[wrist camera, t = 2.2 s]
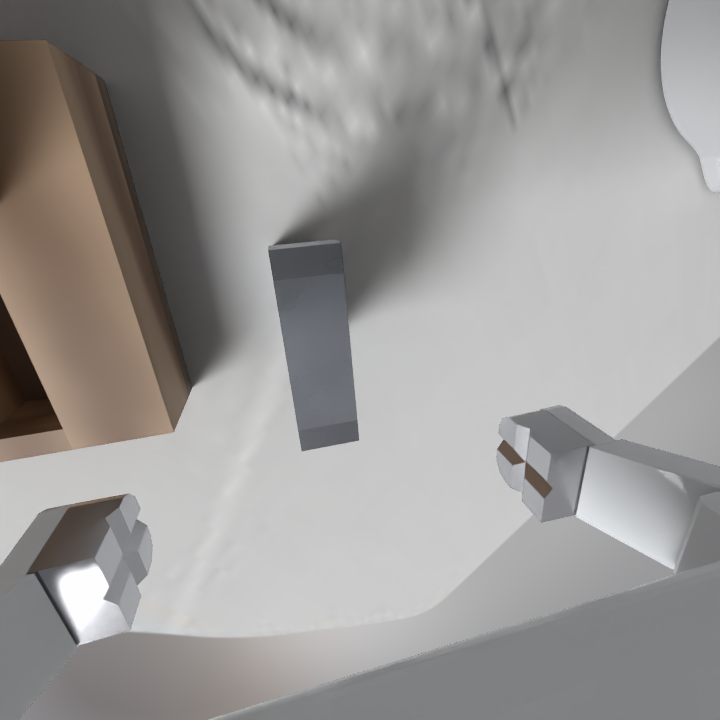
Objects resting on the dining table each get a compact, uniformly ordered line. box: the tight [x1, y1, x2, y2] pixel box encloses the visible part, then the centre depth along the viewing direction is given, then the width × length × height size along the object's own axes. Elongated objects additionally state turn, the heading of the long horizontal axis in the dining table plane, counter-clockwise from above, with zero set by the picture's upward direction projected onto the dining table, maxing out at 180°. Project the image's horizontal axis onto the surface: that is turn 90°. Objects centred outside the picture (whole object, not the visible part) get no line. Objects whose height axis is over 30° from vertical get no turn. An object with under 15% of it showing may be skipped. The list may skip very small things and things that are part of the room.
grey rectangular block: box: [268, 239, 359, 451], centre depth 19 cm, size 2×8×10 cm, turn 4°
